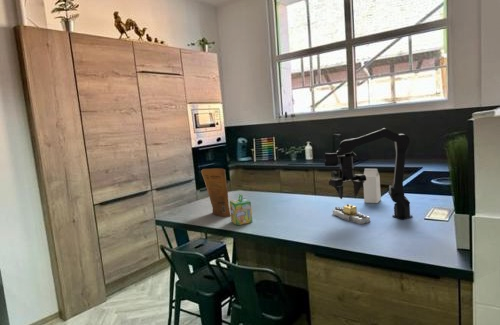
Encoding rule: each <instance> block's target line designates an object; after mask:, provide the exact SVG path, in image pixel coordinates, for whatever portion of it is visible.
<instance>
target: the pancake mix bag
mask: <svg viewBox="0 0 500 325" xmlns="http://www.w3.org/2000/svg"><path fill="white" fill-rule="evenodd" d="M200 171H201V172H200V173H201V175H202V178H203V181H204V183H205V187H206V190H207V194H208V197H209V201H210V204H211V207H212V213H211V214H212V215H214V216H217V217H218V216H220V217H223V218H226V217H227V218H228V217H231V211H230V201H229V192H228V191H229V190H228V183H227V175H226V169H224V168H219V167H218V168H217V167H216V168H202V170H200Z"/></svg>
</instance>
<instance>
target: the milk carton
mask: <svg viewBox="0 0 500 325" xmlns="http://www.w3.org/2000/svg"><path fill="white" fill-rule="evenodd" d="M363 175H365V176H366V181H364V183H363V184H362V186H363V201H364V203H367V204H369V203H370V204H378V203H379V202H380V201H381V200H382V196H381V178H380V173H379V170H378V168H364V171H363Z"/></svg>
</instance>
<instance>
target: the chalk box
mask: <svg viewBox="0 0 500 325" xmlns="http://www.w3.org/2000/svg"><path fill="white" fill-rule="evenodd" d="M229 210H230V215H231V216H230V219H231V222H232V223H233V224H235V226H241V225H246V224H252V223H253V214H252V202H251V200H249V199H247V198H243V194H241V193H240V194H239V195H238V199H234V200H229ZM251 222H252V223H251Z"/></svg>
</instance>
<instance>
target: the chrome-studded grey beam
mask: <svg viewBox="0 0 500 325" xmlns="http://www.w3.org/2000/svg"><path fill="white" fill-rule="evenodd" d="M332 215H334V216H336V217H339V218H340V219H342V220H344V221H348V222H354V223H357V224H358V225H363V224H367V223H370V222H371V217H370V216H368V215H366V214H362V212H359V211H357V213H355V215H352V216H350V215H347V214H344V210H343V207H340V206H335V208H334V209H332Z"/></svg>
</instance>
